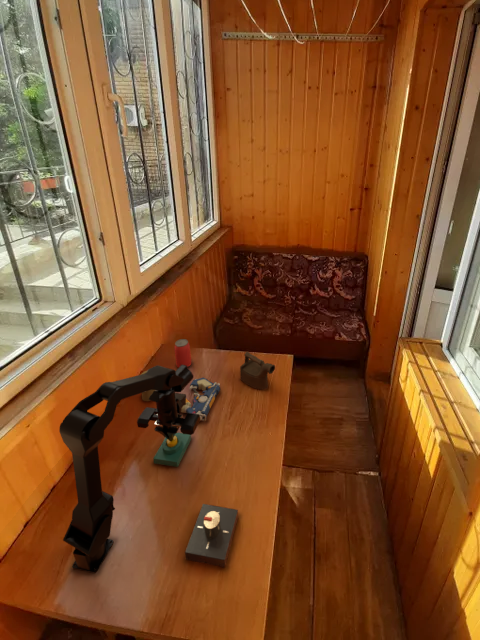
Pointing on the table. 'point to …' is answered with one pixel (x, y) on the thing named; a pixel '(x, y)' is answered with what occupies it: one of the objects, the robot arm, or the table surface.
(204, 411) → the toy gun
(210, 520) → the nozzle dial
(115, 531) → the table surface
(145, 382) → the robot arm
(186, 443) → the green block
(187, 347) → the beer can
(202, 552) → the black flat block
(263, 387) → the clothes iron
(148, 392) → the cork
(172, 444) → the cylinder
